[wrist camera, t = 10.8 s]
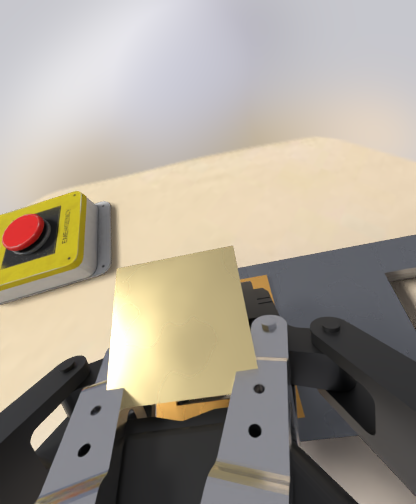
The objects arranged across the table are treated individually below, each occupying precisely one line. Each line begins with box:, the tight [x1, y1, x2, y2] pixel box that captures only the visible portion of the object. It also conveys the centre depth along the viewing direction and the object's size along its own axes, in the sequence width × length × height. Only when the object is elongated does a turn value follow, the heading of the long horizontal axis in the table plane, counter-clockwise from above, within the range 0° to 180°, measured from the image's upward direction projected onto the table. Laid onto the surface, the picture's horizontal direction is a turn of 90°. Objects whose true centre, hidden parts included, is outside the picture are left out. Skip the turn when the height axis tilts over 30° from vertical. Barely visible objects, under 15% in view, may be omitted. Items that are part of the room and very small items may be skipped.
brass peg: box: [107, 246, 258, 408], centre depth 11 cm, size 4×4×10 cm
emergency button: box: [0, 191, 111, 305], centre depth 23 cm, size 9×4×15 cm
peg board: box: [155, 235, 416, 441], centre depth 15 cm, size 26×10×3 cm, turn 97°
